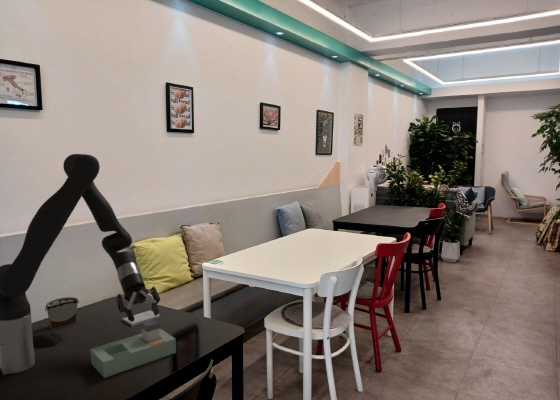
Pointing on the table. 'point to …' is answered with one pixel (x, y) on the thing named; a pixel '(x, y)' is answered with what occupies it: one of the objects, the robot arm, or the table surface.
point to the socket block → (130, 353)
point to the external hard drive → (141, 318)
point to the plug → (150, 331)
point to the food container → (62, 312)
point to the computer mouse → (47, 338)
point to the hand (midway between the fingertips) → (145, 317)
